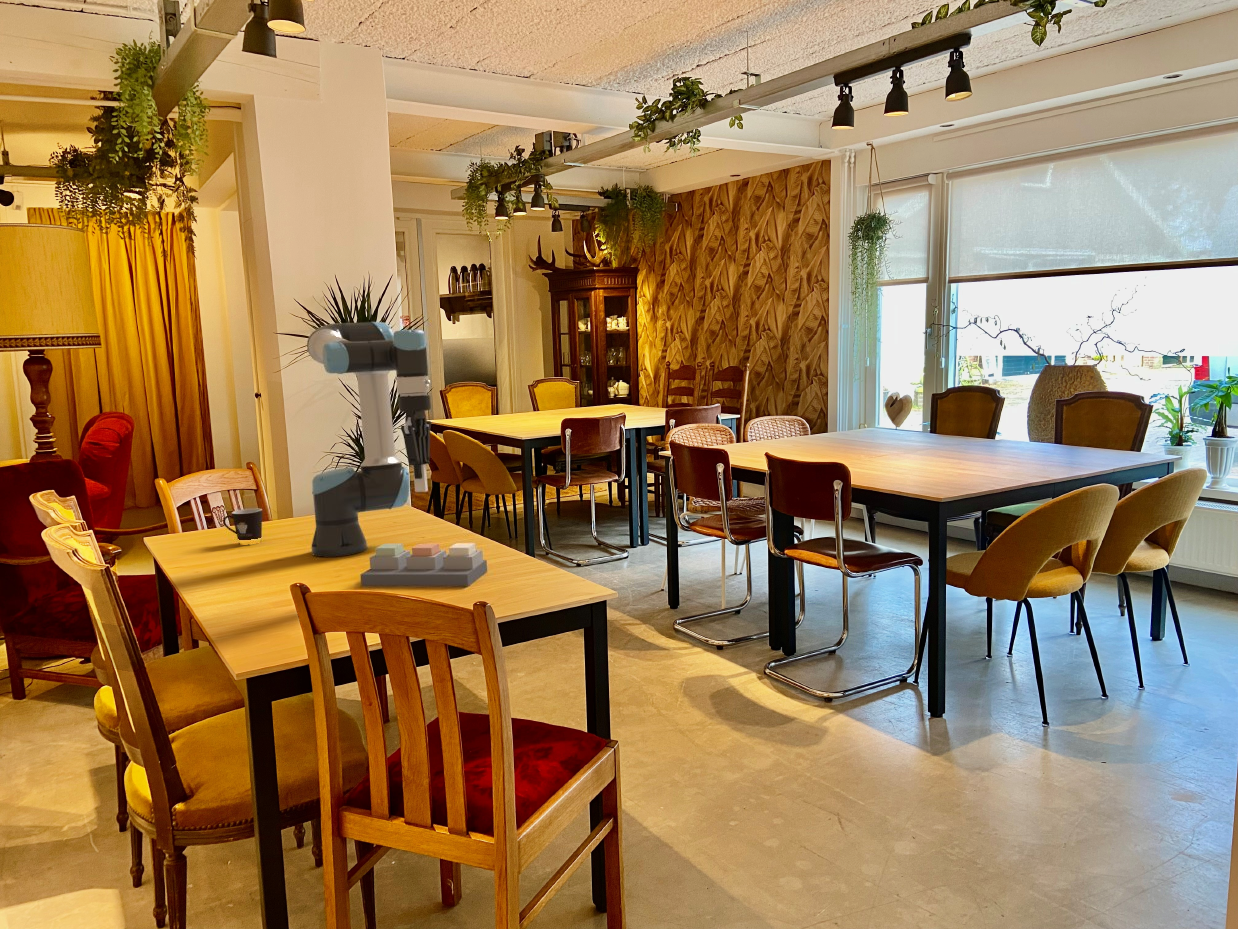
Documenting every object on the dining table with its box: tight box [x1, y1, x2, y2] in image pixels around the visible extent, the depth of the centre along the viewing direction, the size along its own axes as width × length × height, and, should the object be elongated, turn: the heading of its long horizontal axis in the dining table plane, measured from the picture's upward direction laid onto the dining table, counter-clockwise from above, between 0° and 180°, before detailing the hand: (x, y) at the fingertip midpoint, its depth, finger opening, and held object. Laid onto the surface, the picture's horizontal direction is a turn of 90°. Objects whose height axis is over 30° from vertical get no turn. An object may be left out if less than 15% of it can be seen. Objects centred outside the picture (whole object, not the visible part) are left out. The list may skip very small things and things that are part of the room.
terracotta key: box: [411, 542, 441, 556], centre depth 218 cm, size 5×5×3 cm
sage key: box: [375, 543, 405, 557], centre depth 220 cm, size 5×5×3 cm
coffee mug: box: [222, 508, 263, 540], centre depth 272 cm, size 12×9×10 cm
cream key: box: [448, 542, 477, 556], centre depth 217 cm, size 5×5×3 cm
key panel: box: [359, 549, 488, 588], centre depth 217 cm, size 27×14×6 cm, turn 80°
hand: (421, 491), depth 216 cm, fingers closed
